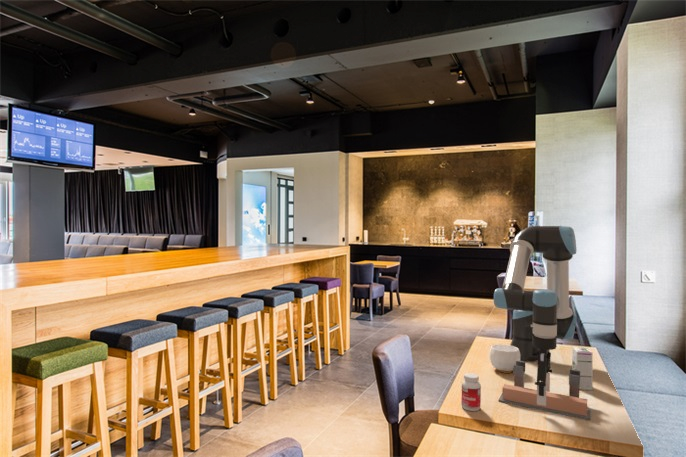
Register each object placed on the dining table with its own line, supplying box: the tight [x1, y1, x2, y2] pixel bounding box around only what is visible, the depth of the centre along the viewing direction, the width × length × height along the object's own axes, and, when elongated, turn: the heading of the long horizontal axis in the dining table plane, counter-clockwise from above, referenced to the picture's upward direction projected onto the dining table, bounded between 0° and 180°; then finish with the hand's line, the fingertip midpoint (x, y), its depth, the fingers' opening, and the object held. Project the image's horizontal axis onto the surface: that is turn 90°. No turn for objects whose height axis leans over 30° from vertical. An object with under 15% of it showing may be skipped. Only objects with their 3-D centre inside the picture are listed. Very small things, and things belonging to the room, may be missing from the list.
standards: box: [512, 360, 580, 398], centre depth 155 cm, size 7×23×11 cm, turn 60°
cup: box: [489, 343, 521, 374], centre depth 184 cm, size 12×12×10 cm
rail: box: [501, 383, 588, 416], centre depth 147 cm, size 4×26×4 cm, turn 60°
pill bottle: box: [461, 372, 482, 412], centre depth 146 cm, size 6×6×11 cm
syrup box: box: [571, 346, 594, 391], centre depth 166 cm, size 6×6×14 cm
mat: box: [498, 393, 592, 421], centre depth 147 cm, size 7×28×1 cm, turn 60°
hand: (543, 397), depth 148 cm, fingers open, 13 cm apart
